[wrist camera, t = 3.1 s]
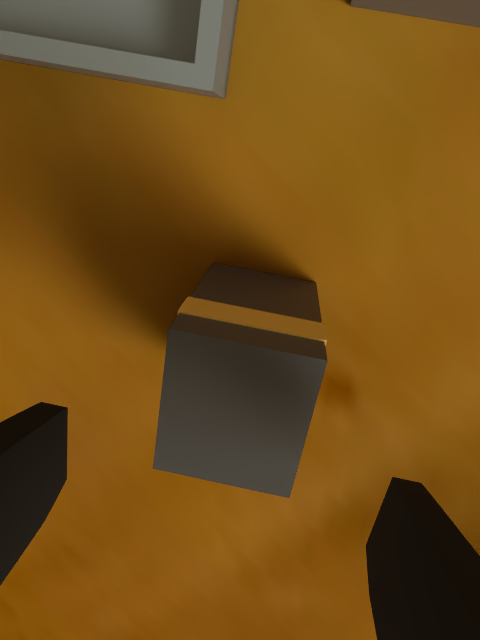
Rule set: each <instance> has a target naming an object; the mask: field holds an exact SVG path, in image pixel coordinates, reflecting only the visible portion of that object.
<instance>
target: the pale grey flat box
mask: <svg viewBox="0 0 480 640" xmlns="http://www.w3.org/2000/svg"><path fill="white" fill-rule="evenodd" d="M350 6H355V7H361V8H367V9H373V10H379V11H385V12H391V13H397V14H403V15H409V16H415V17H422V18H428V19H434V20H440V21H446V22H452V23H458V24H464V25H470V26H476V27H480V0H351V3H350Z"/></svg>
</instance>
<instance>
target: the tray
mask: <svg viewBox="0 0 480 640" xmlns="http://www.w3.org/2000/svg"><path fill="white" fill-rule="evenodd" d="M237 7H238V0H0V59H1V60H7V61H12V62H18V63H24V64H29V65H35V66H41V67H46V68H52V69H58V70H63V71H69V72H75V73H80V74H86V75H92V76H97V77H103V78H109V79H114V80H120V81H126V82H131V83H137V84H143V85H148V86H154V87H160V88H165V89H171V90H177V91H183V92H188V93H194V94H200V95H205V96H211V97H217V98H222V99H225V96H226V88H227V81H228V74H229V66H230V59H231V52H232V44H233V37H234V30H235V22H236V15H237Z"/></svg>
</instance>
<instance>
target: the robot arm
mask: <svg viewBox="0 0 480 640" xmlns="http://www.w3.org/2000/svg"><path fill="white" fill-rule="evenodd" d="M67 415H68V408H67V407H62V406H58V405H53V404H48V403H44V402H40V403H38V404H36V405H34V406H32V407H30V408H28V409H26V410H24V411H22V412H20V413H18V414H16V415H14V416H12V417H10V418H8V419H6V420H4V421H2V422H1V423H0V585H1V584H2V582H3V581H4V580H5V578H6V577H7V575H8V574H9V572H10V571H11V569H12V568H13V567H14V565H15V564H16V562H17V561H18V559H19V558H20V556H21V555H22V554H23V552H24V551H25V549H26V548H27V546H28V545H29V543H30V542H31V540H32V539H33V538H34V536H35V535H36V533H37V532H38V530H39V529H40V527H41V526H42V524H43V523H44V521H45V519H46V517H47V516H48V514H49V512H50V510H51V508H52V506H53V505H54V503H55V501H56V499H57V497H58V495H59V493H60V491H61V489H62V487H63V485H64V483H65V481H66V480H67ZM366 554H367V571H368V584H369V596H370V601H371V607H372V613H373V618H374V624H375V629H376V635H377V640H480V556H479V555H478V553H477V552H476V551H475V550H474V548H473V547H472V546H471V545H470V543H469V542H468V541H467V540H466V538H465V537H464V536H463V535H462V533H461V532H460V531H459V530H458V528H457V527H456V526H455V525H454V523H453V522H452V521H451V519H450V518H449V517H448V516H447V514H446V513H445V512H444V511H443V509H442V508H441V507H440V505H439V504H438V503H437V502H436V500H435V499H434V498H433V497H432V495H431V494H430V493H429V492H428V491H427V489H426V488H425V487H424V486H423V485H422V483H419V482H414V481H409V480H404V479H400V478H395V477H392V480H391V482H390V485H389V487H388V490H387V492H386V495H385V498H384V500H383V503H382V505H381V508H380V510H379V513H378V516H377V518H376V521H375V523H374V526H373V528H372V531H371V534H370V536H369V539H368V541H367V544H366Z"/></svg>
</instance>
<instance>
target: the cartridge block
mask: <svg viewBox="0 0 480 640" xmlns="http://www.w3.org/2000/svg"><path fill="white" fill-rule="evenodd" d="M326 342H327V338H326V332H325V325H324V323H322V321H321V314H320V307H319V300H318V293H317V286H316V282H311V281H306V280H301V279H296V278H291V277H285V276H280V275H275V274H270V273H265V272H260V271H255V270H249V269H244V268H239V267H234V266H229V265H224V264H219V263H213V264H212V265H211V267H210V268H209V270H208V271H207V273H206V274H205V276H204V277H203V279H202V280H201V282H200V283H199V285H198V286H197V288H196V289H195V290H194V292H193V293H192V295H191V296H190V297H189V296H188V297H187V298H186V300H185V301H184V302H183V304H182V305H181V307H180V308H179V310H178V313H177V317H176V318H175V320H174V321H173V323H172V324H171V326H170V327H169V329H168V338H167V347H166V356H165V365H164V374H163V383H162V392H161V401H160V410H159V419H158V428H157V437H156V446H155V455H154V464H153V469H158V470H163V471H167V472H172V473H176V474H181V475H186V476H190V477H195V478H199V479H204V480H209V481H213V482H218V483H222V484H227V485H232V486H236V487H241V488H245V489H250V490H255V491H259V492H264V493H268V494H273V495H278V496H282V497H287V498H289V497H290V494H291V490H292V486H293V483H294V479H295V476H296V472H297V468H298V465H299V461H300V458H301V454H302V450H303V447H304V443H305V440H306V436H307V432H308V429H309V425H310V421H311V418H312V414H313V411H314V407H315V403H316V400H317V396H318V393H319V389H320V385H321V382H322V378H323V375H324V371H325V367H326V364H327V355H326V348H325V346H326Z"/></svg>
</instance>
